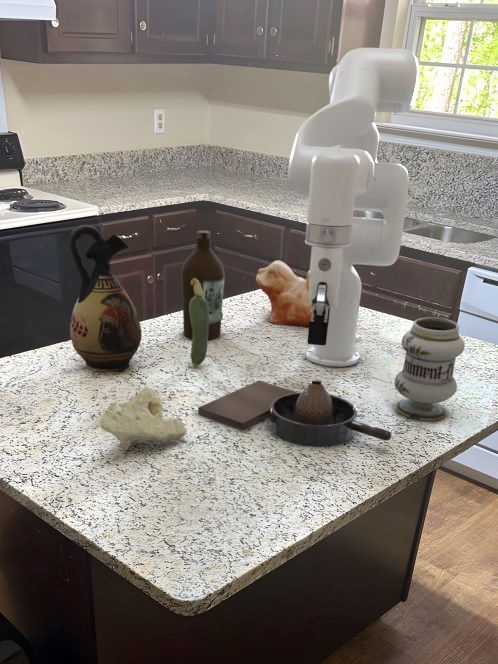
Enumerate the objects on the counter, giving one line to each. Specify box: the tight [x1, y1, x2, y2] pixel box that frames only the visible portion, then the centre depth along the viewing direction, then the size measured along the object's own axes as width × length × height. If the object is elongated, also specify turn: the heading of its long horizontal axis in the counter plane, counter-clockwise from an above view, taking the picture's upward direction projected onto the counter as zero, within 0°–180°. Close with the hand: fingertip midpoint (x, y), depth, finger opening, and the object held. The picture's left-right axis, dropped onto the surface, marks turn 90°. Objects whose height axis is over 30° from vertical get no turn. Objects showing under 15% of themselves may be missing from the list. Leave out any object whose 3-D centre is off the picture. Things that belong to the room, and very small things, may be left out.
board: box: [197, 380, 297, 431], centre depth 144 cm, size 20×11×2 cm, turn 141°
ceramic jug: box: [67, 224, 143, 374], centre depth 154 cm, size 17×15×30 cm
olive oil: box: [180, 230, 226, 341], centre depth 178 cm, size 11×11×25 cm
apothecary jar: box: [394, 316, 466, 421], centre depth 141 cm, size 12×12×18 cm
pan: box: [268, 391, 358, 447], centre depth 136 cm, size 16×16×4 cm
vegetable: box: [189, 278, 209, 368], centre depth 158 cm, size 4×4×20 cm
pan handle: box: [349, 420, 392, 442], centre depth 129 cm, size 2×8×2 cm, turn 51°
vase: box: [295, 380, 332, 425], centre depth 135 cm, size 7×7×9 cm
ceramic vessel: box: [255, 259, 312, 328], centre depth 194 cm, size 14×26×15 cm, turn 75°
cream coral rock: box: [99, 386, 187, 451], centre depth 128 cm, size 15×7×15 cm
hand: (317, 336), depth 128 cm, fingers open, 9 cm apart
